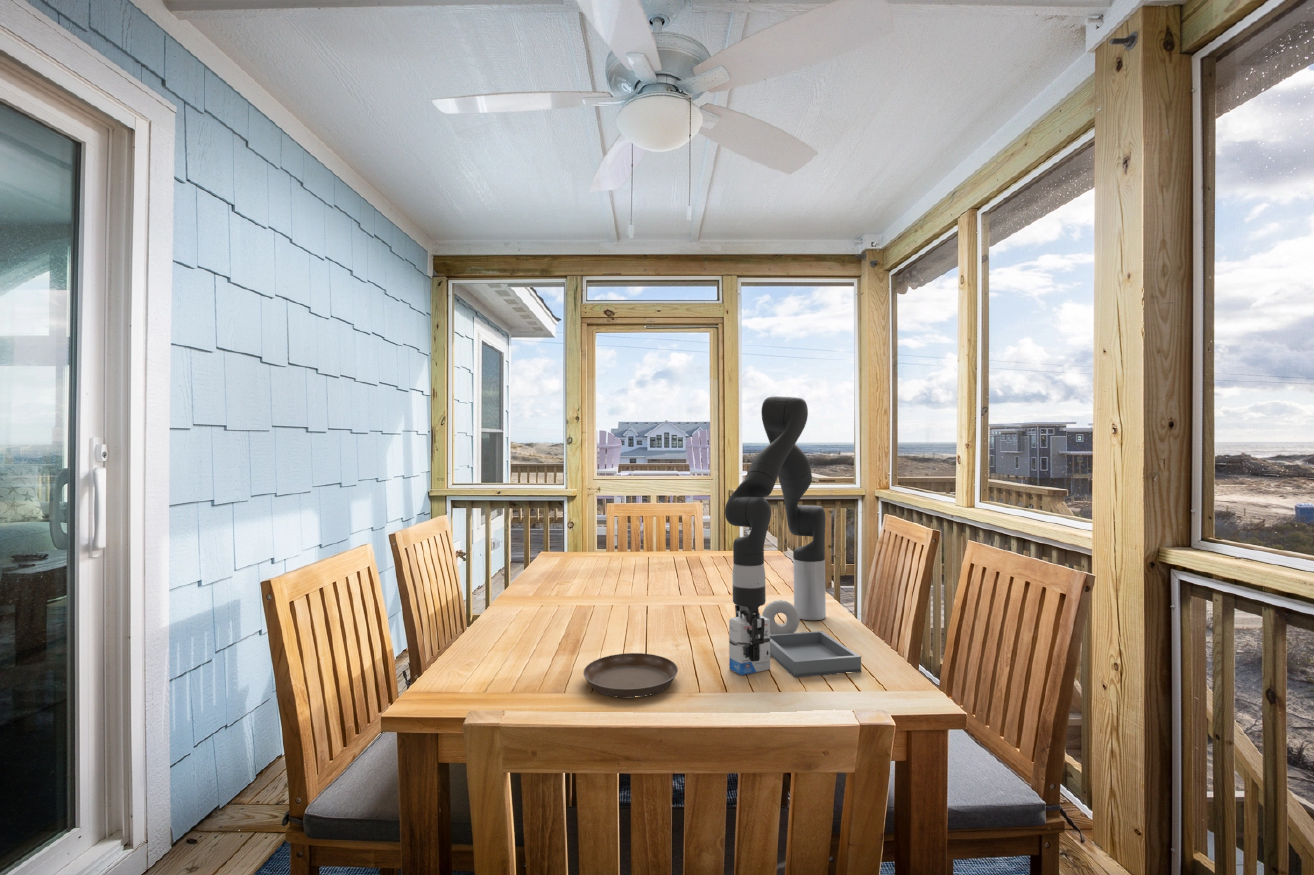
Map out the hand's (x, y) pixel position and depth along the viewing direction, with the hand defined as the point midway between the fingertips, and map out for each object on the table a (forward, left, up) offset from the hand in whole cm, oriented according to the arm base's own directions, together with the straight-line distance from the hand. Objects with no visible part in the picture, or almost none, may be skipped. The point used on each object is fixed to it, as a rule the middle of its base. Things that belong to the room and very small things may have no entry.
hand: (749, 655), depth 144 cm
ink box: (0, 0, -3) cm, 3 cm away
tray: (-3, +16, -3) cm, 17 cm away
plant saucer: (+2, -28, -4) cm, 28 cm away
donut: (-21, +16, -3) cm, 27 cm away
